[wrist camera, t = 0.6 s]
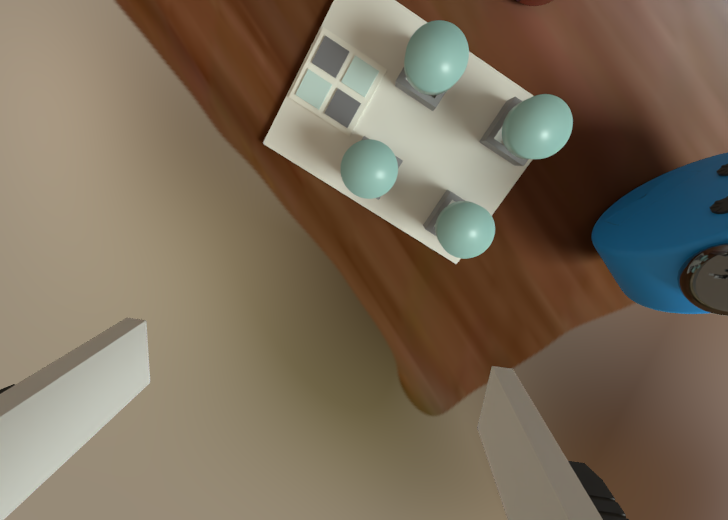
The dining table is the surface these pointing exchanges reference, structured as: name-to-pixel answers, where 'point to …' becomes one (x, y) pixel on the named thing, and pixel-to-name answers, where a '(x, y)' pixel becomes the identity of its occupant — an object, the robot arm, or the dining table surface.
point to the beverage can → (534, 2)
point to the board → (398, 119)
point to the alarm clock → (671, 239)
